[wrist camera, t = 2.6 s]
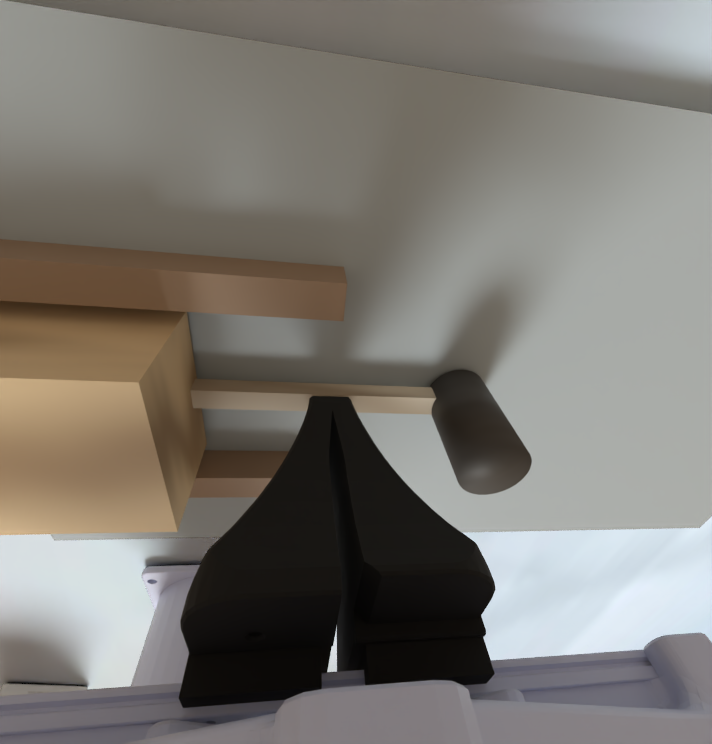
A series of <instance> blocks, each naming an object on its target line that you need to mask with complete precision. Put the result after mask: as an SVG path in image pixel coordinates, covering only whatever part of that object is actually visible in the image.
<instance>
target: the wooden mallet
mask: <svg viewBox="0 0 712 744" xmlns="http://www.w3.org/2000/svg"><path fill="white" fill-rule="evenodd" d="M312 396H336V397H349V398H350V399H351V401H352V404H353V406H354V408H355V410H356V412H357V413H392V414H430V415H432V418H433V420H434V423H435V425H436V428H437V430H438V433H439V435H440V438H441V441H442V443H443V446H444V448H445V451H446V453H447V456H448V458H449V461H450V463H451V466H452V468H453V471H454V473H455V476H456V478H457V481H458V483H459V485H460V487H461V488H462V489H464V490H465V491H467V492H469V493H472V494H477V495H488V494H494V493H498V492H502V491H504V490H507V489H509V488H511V487H513V486H514V485H516V484H517V483H519V482H520V481H521V480H522V479H523V478H524V477H525V476H526V475H527V473H528V472H529V470H530V468H531V464H532V459H531V455H530V453H529V452H528V450H527V449H526V447H525V446H524V444H523V442H522V441H521V439H520V438H519V436H518V435H517V433H516V432H515V430H514V428H513V427H512V425H511V424H510V422H509V421H508V419H507V418H506V416H505V414H504V413H503V411H502V410H501V408H500V407H499V405H498V404H497V402H496V400H495V399H494V397H493V396H492V394H491V393H490V391H489V390H488V388H487V386H486V385H485V383H484V382H483V380H482V379H481V377H480V376H479V375H478V374H476V373H474V372H472V371H469V370H454V371H450V372H447V373H445V374H443V375H441V376H440V377H438V378H437V379H436V380H435V381H434V382H433V383H432V384H431V385H430V387H407V386H380V385H353V384H326V383H299V382H271V381H244V380H217V379H197V376H196V369H195V363H194V356H193V350H192V343H191V337H190V330H189V324H188V317H187V312H181V311H164V310H148V309H131V308H115V307H98V306H81V305H65V304H48V303H32V302H15V301H0V535H25V534H82V533H139V532H178V529H179V526H180V523H181V520H182V517H183V514H184V511H185V508H186V505H187V502H188V499H189V496H190V493H191V490H192V487H193V484H194V481H195V478H196V475H197V472H198V469H199V466H200V463H201V460H202V457H203V454H204V451H205V448H206V445H207V441H206V435H205V428H204V421H203V415H202V409H240V410H278V411H307V409H308V405H309V398H311V397H312Z"/></svg>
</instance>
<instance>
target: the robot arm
mask: <svg viewBox="0 0 712 744" xmlns="http://www.w3.org/2000/svg"><path fill="white" fill-rule="evenodd" d="M142 579H143V582H144V584H145V587H146V589H147V592H148V594H149V597H150V599H151V602H152V604H153V607H154V609H155V613H154V616H153V619H152V622H151V625H150V628H149V631H148V634H147V637H146V640H145V644H144V647H143V650H142V653H141V656H140V659H139V662H138V665H137V668H136V671H135V674H134V677H133V681H132V684H131V687H118V688H104V689H90V690H76V691H62V692H48V693H34V694H20V695H7V696H0V744H712V643H711V641H710V640H709V639H708V637H707V636H706V635H705V634H702V633H689V634H674V635H666V636H661V637H658V638H656V639H654V640H652V641H651V642H649V643H648V644H647V645H646V646H645V647H644V650H632V651H618V652H604V653H591V654H577V655H563V656H549V657H535V658H521V659H507V660H493V661H490V657H489V654H488V651H487V648H486V645H485V642H484V639H483V636H485V635H486V630H485V627H484V624H483V621H482V618H481V614H482V613H483V611H484V610H485V608H486V607H487V605H488V603H489V602H490V600H491V598H492V596H493V594H494V591H495V584H494V580H493V578H492V575H491V573H490V570H489V568H488V566H487V564H486V562H485V560H484V558H483V556H482V554H481V552H480V550H479V548H478V546H477V544H476V543H475V542H474V541H472V540H471V539H470V538H468V537H467V536H466V535H464V534H463V533H461V532H460V531H459V530H457V529H456V528H455V527H453V526H452V525H451V524H449V523H448V522H447V521H446V520H444V519H443V518H442V517H441V516H440V515H438V514H437V513H436V512H435V511H434V510H433V509H431V508H430V507H429V506H428V505H427V504H426V503H425V502H424V501H423V500H422V499H421V498H420V497H419V496H418V495H417V494H416V493H415V492H414V491H413V490H412V489H411V488H410V487H409V486H408V485H407V484H406V483H405V482H404V481H403V480H402V478H401V477H400V476H399V475H398V474H397V473H396V471H395V470H394V469H393V468H392V467H391V465H390V464H389V463H388V461H387V460H386V459H385V457H384V456H383V455H382V453H381V452H380V450H379V449H378V448H377V446H376V445H375V443H374V442H373V440H372V438H371V437H370V435H369V434H368V432H367V430H366V429H365V427H364V425H363V424H362V422H361V420H360V418H359V416H358V414H357V412H356V410H355V408H354V406H353V404H352V401H351V399H350V398H349V397H336V396H312V397H311V398H309V405H308V409H307V412H306V415H305V418H304V421H303V423H302V426H301V428H300V430H299V433H298V435H297V437H296V439H295V441H294V443H293V445H292V447H291V448H290V450H289V452H288V454H287V456H286V458H285V459H284V461H283V462H282V464H281V466H280V467H279V469H278V470H277V472H276V473H275V475H274V476H273V478H272V479H271V481H270V482H269V483H268V485H267V486H266V487H265V489H264V490H263V491H262V493H261V494H260V495H259V496H258V498H257V499H256V500H255V501H254V503H253V504H252V505H251V506H250V507H249V508H248V509H247V511H246V512H245V513H244V514H243V515H242V516H241V517H240V518H239V520H238V521H237V522H236V523H235V524H234V525H233V526H232V527H231V528H230V529H229V530H228V531H227V532H226V533H225V534H224V535H223V536H222V537H221V538H220V539H219V540H218V541H217V542H216V543H215V544H214V545H213V546H212V547H211V548H210V549H209V550H208V551H207V553H206V555H205V557H204V559H203V560H202V562H201V564H200V565H178V566H150V567H146V568H145V569H144V570H143V572H142ZM336 625H337V672H327V669H328V663H329V658H330V652H331V646H333V642H334V637H335V631H336Z"/></svg>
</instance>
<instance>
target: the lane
mask: <svg viewBox="0 0 712 744" xmlns="http://www.w3.org/2000/svg"><path fill="white" fill-rule="evenodd" d="M0 301H15V302H32V303H48V304H65V305H81V306H98V307H115V308H131V309H148V310H164V311H181V312H187V317H188V324H189V330H190V337H191V343H192V350H193V356H194V363H195V369H196V376H197V379H217V380H244V381H271V382H299V383H326V384H353V385H380V386H407V387H430V385H431V384H432V383H433V382H434V381H435V380H436V379H437V378H438V377H440V376H441V375H443V374H445V373H447V372H450V371H454V370H469V371H472V372H474V373H476V374H478V375H479V376H480V377H481V379H482V380H483V382H484V383H485V385H486V386H487V388H488V390H489V391H490V393H491V394H492V396H493V397H494V399H495V400H496V402H497V404H498V405H499V407H500V408H501V410H502V411H503V413H504V414H505V416H506V418H507V419H508V421H509V422H510V424H511V425H512V427H513V428H514V430H515V432H516V433H517V435H518V436H519V438H520V439H521V441H522V442H523V444H524V446H525V447H526V449H527V450H528V452H529V453H530V455H531V459H532V464H531V468H530V470H529V472H528V473H527V475H526V476H525V477H524V478H523V479H522V480H521V481H520V482H519V483H517V484H516V485H514V486H513V487H511V488H509V489H507V490H504V491H502V492H498V493H494V494H488V495H477V494H472V493H469V492H467V491H465V490H464V489H462V488H461V487H460V485H459V483H458V481H457V478H456V476H455V473H454V471H453V468H452V466H451V463H450V461H449V458H448V456H447V453H446V451H445V448H444V446H443V443H442V441H441V438H440V435H439V433H438V430H437V428H436V425H435V423H434V420H433V418H432V415H430V414H392V413H357V414H358V416H359V418H360V420H361V422H362V424H363V425H364V427H365V429H366V430H367V432H368V434H369V435H370V437H371V438H372V440H373V442H374V443H375V445H376V446H377V448H378V449H379V450H380V452H381V453H382V455H383V456H384V457H385V459H386V460H387V461H388V463H389V464H390V465H391V467H392V468H393V469H394V470H395V471H396V473H397V474H398V475H399V476H400V477H401V478H402V480H403V481H404V482H405V483H406V484H407V485H408V486H409V487H410V488H411V489H412V490H413V491H414V492H415V493H416V494H417V495H418V496H419V497H420V498H421V499H422V500H423V501H424V502H425V503H426V504H427V505H428V506H429V507H430V508H431V509H433V510H434V511H435V512H436V513H437V514H438V515H440V516H441V517H442V518H443V519H444V520H446V521H447V522H448V523H449V524H451V525H452V526H453V527H455V528H456V529H457V530H459V531H460V532H508V531H559V530H610V529H660V528H700V527H701V526H702V525H703V524H704V523H705V522H706V521H707V520H708V519H709V518H710V517H711V516H712V114H710V113H704V112H698V111H691V110H685V109H679V108H673V107H667V106H660V105H654V104H648V103H642V102H635V101H629V100H623V99H617V98H611V97H604V96H598V95H592V94H586V93H579V92H573V91H567V90H561V89H555V88H548V87H542V86H536V85H530V84H523V83H517V82H511V81H505V80H499V79H492V78H486V77H480V76H474V75H467V74H461V73H455V72H449V71H442V70H436V69H430V68H424V67H418V66H411V65H405V64H399V63H393V62H386V61H380V60H374V59H368V58H362V57H355V56H349V55H343V54H337V53H330V52H324V51H318V50H312V49H306V48H299V47H293V46H287V45H281V44H274V43H268V42H262V41H256V40H250V39H243V38H237V37H231V36H225V35H218V34H212V33H206V32H200V31H194V30H187V29H181V28H175V27H169V26H162V25H156V24H150V23H144V22H138V21H131V20H125V19H119V18H113V17H106V16H100V15H94V14H88V13H81V12H75V11H69V10H63V9H57V8H50V7H44V6H38V5H32V4H25V3H19V2H13V1H7V0H0ZM306 412H307V411H278V410H240V409H202V415H203V421H204V428H205V435H206V441H207V445H206V448H205V451H204V454H203V457H202V460H201V463H200V466H199V469H198V472H197V475H196V478H195V481H194V484H193V487H192V490H191V493H190V496H189V499H188V502H187V505H186V508H185V511H184V514H183V517H182V520H181V523H180V526H179V529H178V532H139V533H82V534H51V536H52V538H53V539H54V540H102V539H153V538H204V537H222V536H223V535H224V534H225V533H226V532H227V531H228V530H229V529H230V528H231V527H232V526H233V525H234V524H235V523H236V522H237V521H238V520H239V518H240V517H241V516H242V515H243V514H244V513H245V512H246V511H247V509H248V508H249V507H250V506H251V505H252V504H253V503H254V501H255V500H256V499H257V498H258V496H259V495H260V494H261V493H262V491H263V490H264V489H265V487H266V486H267V485H268V483H269V482H270V481H271V479H272V478H273V476H274V475H275V473H276V472H277V470H278V469H279V467H280V466H281V464H282V462H283V461H284V459H285V458H286V456H287V454H288V452H289V450H290V448H291V447H292V445H293V443H294V441H295V439H296V437H297V435H298V433H299V430H300V428H301V426H302V423H303V421H304V418H305V415H306Z"/></svg>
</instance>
